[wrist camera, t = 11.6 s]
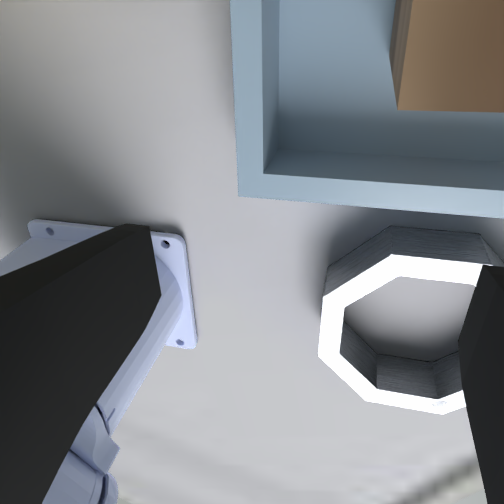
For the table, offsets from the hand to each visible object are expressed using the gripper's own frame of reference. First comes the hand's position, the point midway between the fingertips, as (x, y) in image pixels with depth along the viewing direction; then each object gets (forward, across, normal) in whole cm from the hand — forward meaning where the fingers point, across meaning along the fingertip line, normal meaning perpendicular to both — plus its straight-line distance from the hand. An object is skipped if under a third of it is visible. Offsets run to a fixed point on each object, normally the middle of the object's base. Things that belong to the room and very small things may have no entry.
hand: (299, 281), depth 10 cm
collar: (+10, -4, +8) cm, 14 cm away
